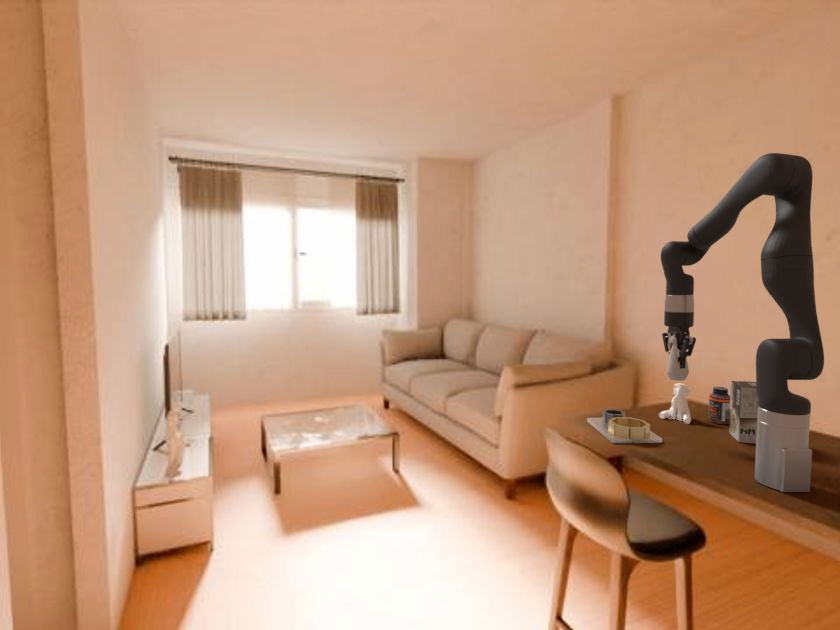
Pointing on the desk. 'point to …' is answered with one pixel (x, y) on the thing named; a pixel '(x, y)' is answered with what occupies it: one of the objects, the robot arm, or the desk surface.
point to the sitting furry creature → (678, 405)
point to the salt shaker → (676, 365)
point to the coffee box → (743, 411)
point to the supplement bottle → (719, 406)
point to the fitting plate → (620, 439)
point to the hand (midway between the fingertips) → (677, 368)
